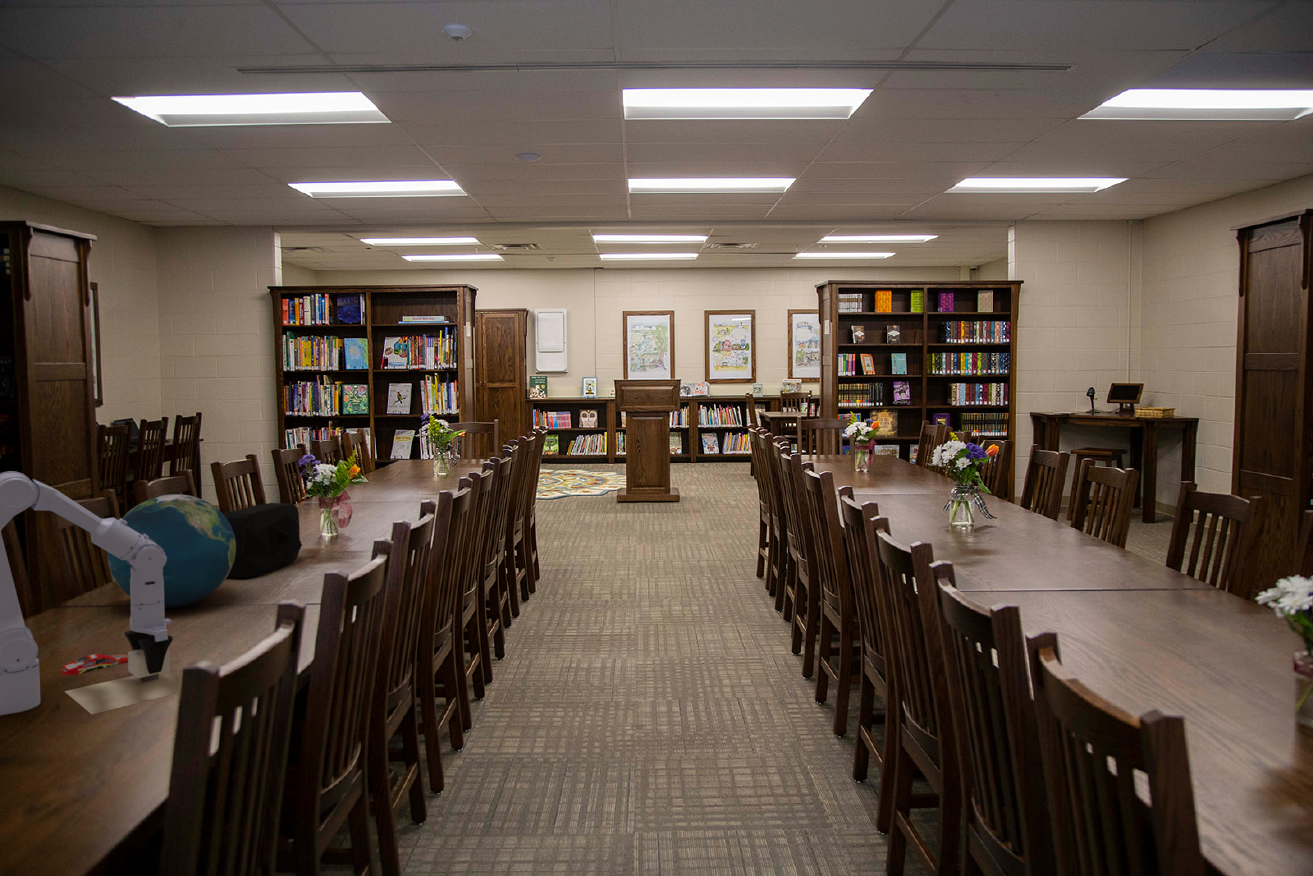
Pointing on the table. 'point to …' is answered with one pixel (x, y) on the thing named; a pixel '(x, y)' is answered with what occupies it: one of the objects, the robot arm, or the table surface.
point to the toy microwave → (144, 663)
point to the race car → (93, 663)
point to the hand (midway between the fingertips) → (149, 668)
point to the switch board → (125, 691)
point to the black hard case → (264, 538)
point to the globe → (182, 546)
